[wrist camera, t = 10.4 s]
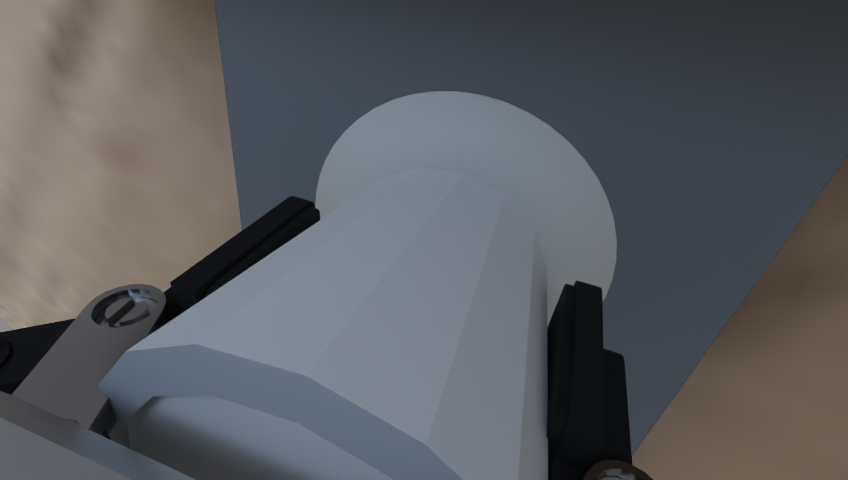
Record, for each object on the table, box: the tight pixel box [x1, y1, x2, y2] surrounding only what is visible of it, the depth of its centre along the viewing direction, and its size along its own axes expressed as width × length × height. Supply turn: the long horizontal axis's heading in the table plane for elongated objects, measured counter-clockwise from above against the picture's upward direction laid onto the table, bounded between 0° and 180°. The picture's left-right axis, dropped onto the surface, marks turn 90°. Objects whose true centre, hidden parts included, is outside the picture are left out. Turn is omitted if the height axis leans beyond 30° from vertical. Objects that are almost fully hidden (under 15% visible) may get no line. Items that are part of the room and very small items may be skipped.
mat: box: [215, 0, 848, 455], centre depth 13 cm, size 15×15×1 cm
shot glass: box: [99, 168, 548, 480], centre depth 9 cm, size 7×7×7 cm
